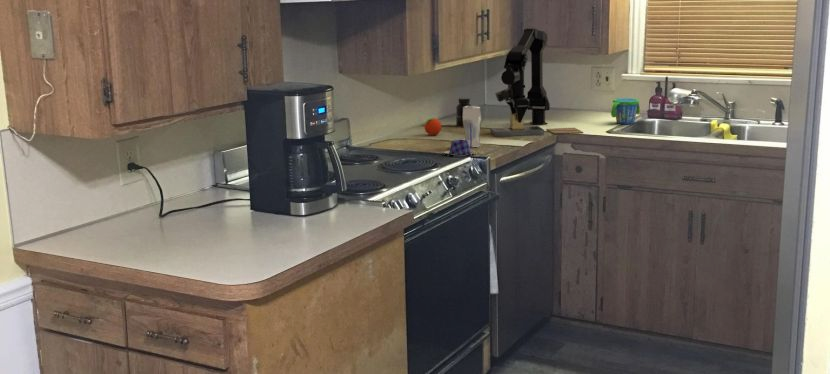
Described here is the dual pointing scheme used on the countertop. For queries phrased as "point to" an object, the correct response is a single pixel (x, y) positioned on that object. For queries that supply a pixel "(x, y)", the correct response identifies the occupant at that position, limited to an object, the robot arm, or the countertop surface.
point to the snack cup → (625, 110)
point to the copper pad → (564, 131)
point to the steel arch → (517, 131)
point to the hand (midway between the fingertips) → (516, 120)
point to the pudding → (459, 147)
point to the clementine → (432, 126)
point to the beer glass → (472, 124)
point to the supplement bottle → (461, 110)
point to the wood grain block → (516, 123)
